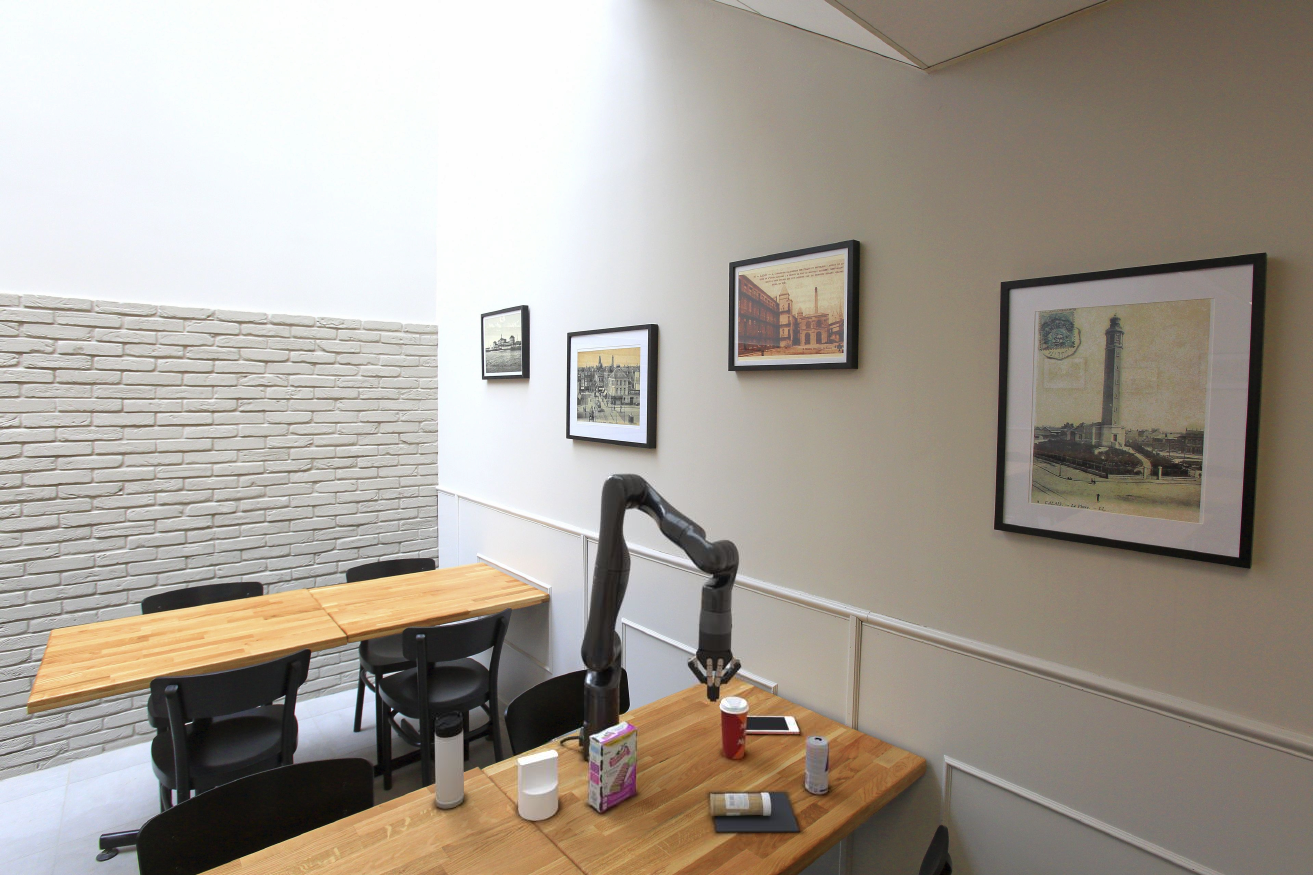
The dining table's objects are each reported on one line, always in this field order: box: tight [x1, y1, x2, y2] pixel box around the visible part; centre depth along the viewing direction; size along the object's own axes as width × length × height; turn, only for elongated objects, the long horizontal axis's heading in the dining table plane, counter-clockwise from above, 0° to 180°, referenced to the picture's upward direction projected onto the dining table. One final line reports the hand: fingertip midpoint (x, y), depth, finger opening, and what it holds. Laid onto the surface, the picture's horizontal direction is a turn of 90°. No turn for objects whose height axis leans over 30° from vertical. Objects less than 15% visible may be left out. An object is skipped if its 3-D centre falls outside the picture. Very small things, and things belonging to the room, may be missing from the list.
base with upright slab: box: [517, 749, 559, 822], centre depth 149 cm, size 9×9×12 cm
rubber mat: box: [709, 791, 800, 834], centre depth 148 cm, size 18×14×1 cm
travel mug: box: [434, 710, 465, 810], centre depth 152 cm, size 6×7×20 cm
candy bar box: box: [587, 720, 638, 814], centre depth 152 cm, size 11×5×16 cm, turn 134°
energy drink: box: [804, 734, 830, 795], centre depth 157 cm, size 5×5×12 cm
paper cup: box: [719, 696, 750, 760], centre depth 173 cm, size 8×8×14 cm
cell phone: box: [746, 715, 800, 735], centre depth 187 cm, size 9×18×1 cm, turn 89°
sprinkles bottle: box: [709, 793, 771, 817], centre depth 147 cm, size 5×5×14 cm
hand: (712, 700), depth 151 cm, fingers closed
